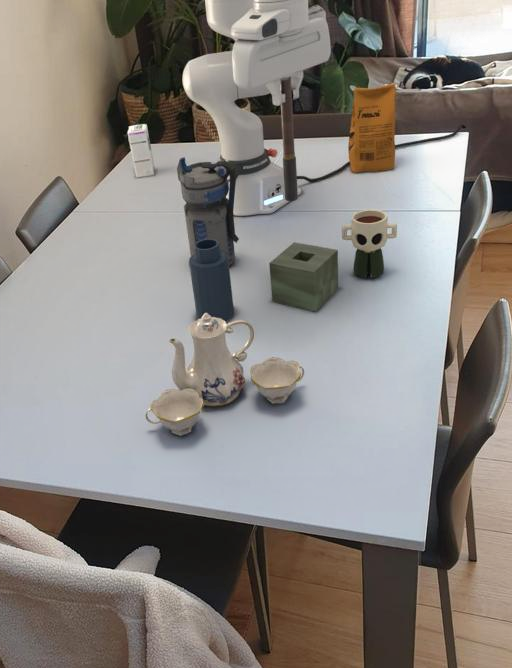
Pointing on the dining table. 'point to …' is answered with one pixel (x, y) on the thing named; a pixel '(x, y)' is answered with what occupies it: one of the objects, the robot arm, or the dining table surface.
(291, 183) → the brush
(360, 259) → the character mug
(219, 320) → the chinaware
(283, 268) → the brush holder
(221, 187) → the beverage bottle
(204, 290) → the steel bottle
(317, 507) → the dining table surface
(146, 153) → the syrup box
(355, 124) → the coffee package
